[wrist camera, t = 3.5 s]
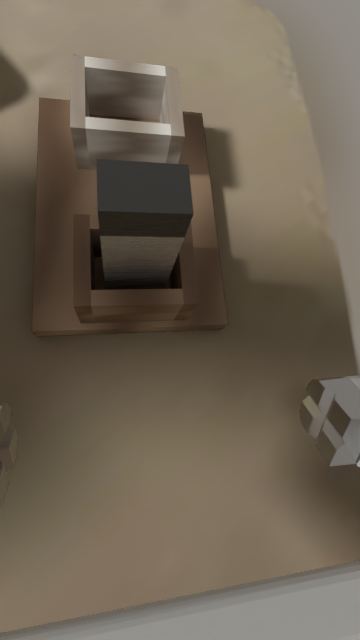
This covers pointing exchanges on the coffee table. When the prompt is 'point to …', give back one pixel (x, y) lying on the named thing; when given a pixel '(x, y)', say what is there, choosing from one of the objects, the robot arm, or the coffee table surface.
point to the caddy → (81, 203)
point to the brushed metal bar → (141, 220)
